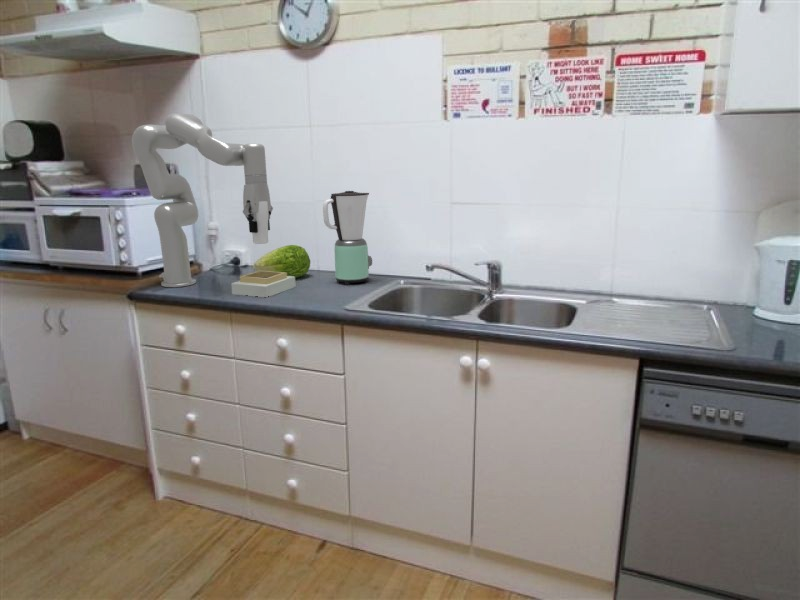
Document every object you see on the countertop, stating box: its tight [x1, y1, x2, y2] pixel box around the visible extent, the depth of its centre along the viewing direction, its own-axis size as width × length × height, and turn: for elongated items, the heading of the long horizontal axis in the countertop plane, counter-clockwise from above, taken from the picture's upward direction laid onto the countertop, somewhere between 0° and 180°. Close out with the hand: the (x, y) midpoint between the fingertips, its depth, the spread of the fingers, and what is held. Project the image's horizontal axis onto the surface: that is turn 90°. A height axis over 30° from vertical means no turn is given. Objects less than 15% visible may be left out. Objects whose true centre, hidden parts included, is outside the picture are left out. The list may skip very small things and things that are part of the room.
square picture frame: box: [230, 271, 297, 298], centre depth 198 cm, size 15×19×6 cm
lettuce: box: [252, 244, 311, 279], centre depth 220 cm, size 15×24×14 cm, turn 72°
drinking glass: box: [250, 201, 269, 245], centre depth 192 cm, size 7×7×15 cm
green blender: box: [322, 190, 373, 286], centre depth 206 cm, size 19×13×35 cm
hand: (259, 230), depth 193 cm, fingers closed on drinking glass, 6 cm apart
